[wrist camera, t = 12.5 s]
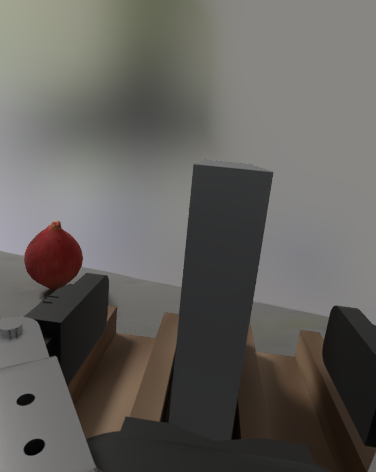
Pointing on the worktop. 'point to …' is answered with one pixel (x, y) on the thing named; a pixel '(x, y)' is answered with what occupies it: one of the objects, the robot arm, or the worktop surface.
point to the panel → (217, 293)
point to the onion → (53, 257)
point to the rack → (248, 402)
